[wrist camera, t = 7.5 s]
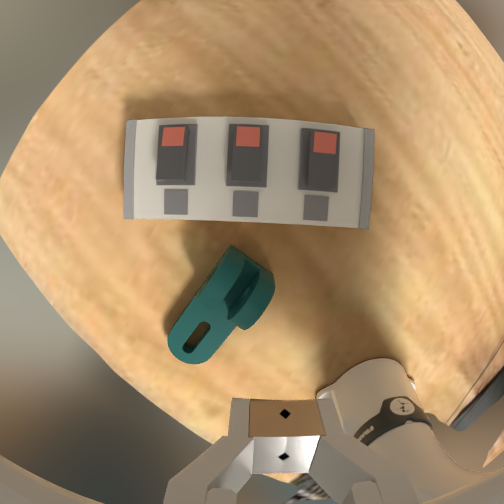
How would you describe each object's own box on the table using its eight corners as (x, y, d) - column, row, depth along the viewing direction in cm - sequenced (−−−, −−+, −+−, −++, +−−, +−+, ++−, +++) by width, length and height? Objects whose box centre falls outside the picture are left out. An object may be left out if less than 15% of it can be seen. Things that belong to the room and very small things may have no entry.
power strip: (356, 224, 38) (369, 230, 33) (137, 214, 38) (122, 219, 33) (361, 134, 35) (375, 129, 30) (139, 126, 35) (125, 119, 30)
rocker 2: (260, 183, 31) (260, 181, 30) (231, 182, 31) (231, 180, 30) (262, 129, 30) (263, 126, 29) (234, 128, 30) (234, 125, 29)
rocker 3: (332, 186, 32) (335, 188, 31) (306, 184, 32) (307, 186, 31) (337, 133, 29) (339, 133, 28) (310, 130, 29) (311, 130, 28)
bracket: (231, 244, 39) (225, 260, 31) (272, 273, 40) (277, 295, 32) (163, 339, 42) (148, 368, 35) (200, 363, 43) (192, 395, 36)
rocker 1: (184, 181, 31) (182, 179, 30) (158, 181, 31) (155, 179, 30) (189, 129, 30) (187, 125, 29) (163, 130, 30) (161, 126, 29)
